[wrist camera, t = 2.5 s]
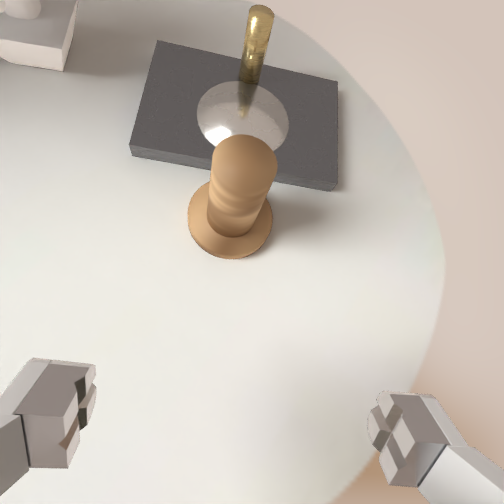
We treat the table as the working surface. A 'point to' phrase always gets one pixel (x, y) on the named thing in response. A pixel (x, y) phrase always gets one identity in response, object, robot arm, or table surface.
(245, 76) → the dowel
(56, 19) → the figurine
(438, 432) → the robot arm
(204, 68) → the base plate
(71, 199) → the table surface
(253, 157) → the flange hub
